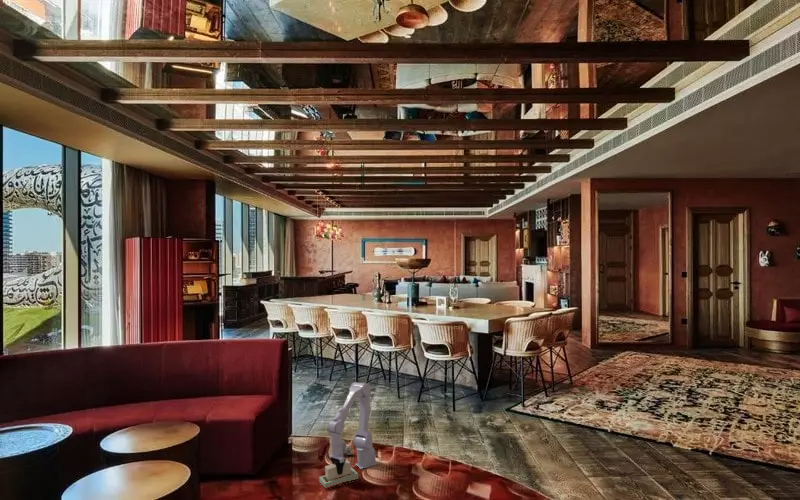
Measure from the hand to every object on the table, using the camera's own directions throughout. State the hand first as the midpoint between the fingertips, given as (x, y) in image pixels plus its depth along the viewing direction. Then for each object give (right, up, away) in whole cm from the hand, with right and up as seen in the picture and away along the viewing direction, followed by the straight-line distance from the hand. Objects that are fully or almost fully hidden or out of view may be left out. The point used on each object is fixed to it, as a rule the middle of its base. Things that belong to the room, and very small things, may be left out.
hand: (338, 472), depth 217 cm
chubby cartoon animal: (-2, -7, +32) cm, 33 cm away
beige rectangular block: (0, -2, 0) cm, 2 cm away
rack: (0, -4, 0) cm, 4 cm away
